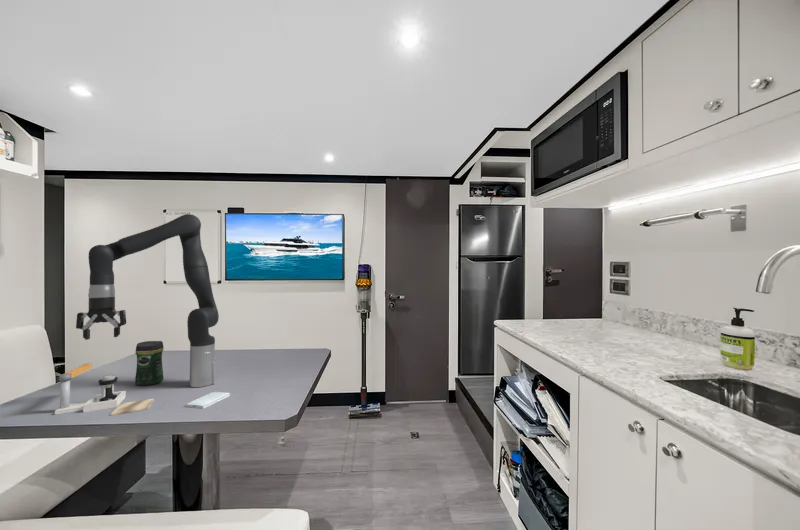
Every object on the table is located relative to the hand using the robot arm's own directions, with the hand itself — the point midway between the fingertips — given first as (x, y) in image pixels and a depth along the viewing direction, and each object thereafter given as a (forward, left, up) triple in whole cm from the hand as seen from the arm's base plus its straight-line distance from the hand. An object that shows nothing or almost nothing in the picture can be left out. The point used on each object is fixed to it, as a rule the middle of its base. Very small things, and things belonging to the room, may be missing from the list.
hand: (101, 338), depth 123 cm
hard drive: (-37, +23, -24) cm, 50 cm away
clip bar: (+7, -1, -13) cm, 15 cm away
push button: (-3, +7, -24) cm, 25 cm away
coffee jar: (-12, -15, -24) cm, 31 cm away
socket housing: (+1, +7, -24) cm, 25 cm away
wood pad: (-13, +16, -24) cm, 32 cm away
